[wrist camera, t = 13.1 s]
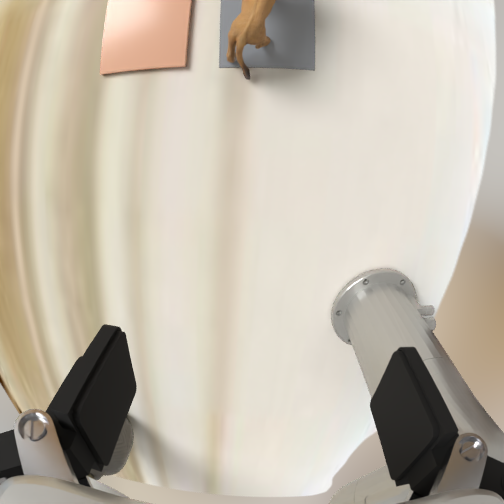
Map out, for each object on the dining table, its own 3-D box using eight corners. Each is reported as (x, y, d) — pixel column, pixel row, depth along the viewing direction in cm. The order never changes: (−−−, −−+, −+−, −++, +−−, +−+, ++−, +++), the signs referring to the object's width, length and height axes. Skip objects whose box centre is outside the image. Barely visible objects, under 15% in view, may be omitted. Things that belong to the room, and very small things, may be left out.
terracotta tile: (199, -48, 22) (197, -52, 21) (187, 67, 29) (184, 66, 28) (119, -36, 22) (116, -40, 21) (104, 75, 28) (99, 74, 27)
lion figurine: (234, -34, 23) (230, -74, 14) (283, -31, 23) (292, -70, 15) (224, 79, 29) (214, 64, 21) (275, 82, 29) (284, 68, 21)
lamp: (175, 437, 55) (151, 594, 21) (105, 441, 58) (70, 567, 25) (114, 374, 47) (49, 565, 13) (47, 386, 50) (-17, 524, 17)
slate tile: (310, -43, 23) (312, -47, 22) (312, 71, 29) (314, 70, 28) (224, -46, 23) (223, -50, 22) (220, 69, 29) (219, 67, 28)
